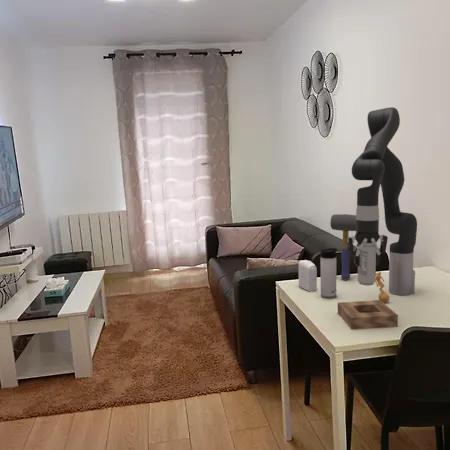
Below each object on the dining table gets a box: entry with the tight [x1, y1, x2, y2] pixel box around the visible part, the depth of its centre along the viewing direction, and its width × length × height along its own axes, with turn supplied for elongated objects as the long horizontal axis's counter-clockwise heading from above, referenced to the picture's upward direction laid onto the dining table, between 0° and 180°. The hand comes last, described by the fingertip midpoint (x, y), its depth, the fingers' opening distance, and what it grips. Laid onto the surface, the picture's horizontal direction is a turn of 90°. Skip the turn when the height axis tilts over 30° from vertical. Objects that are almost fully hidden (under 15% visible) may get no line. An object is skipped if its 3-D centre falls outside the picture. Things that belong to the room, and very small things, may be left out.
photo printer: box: [298, 259, 318, 293], centre depth 212 cm, size 10×4×12 cm, turn 21°
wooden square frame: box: [337, 299, 399, 330], centre depth 175 cm, size 16×16×4 cm
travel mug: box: [320, 247, 338, 300], centre depth 200 cm, size 6×7×20 cm
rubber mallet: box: [329, 213, 356, 281], centre depth 221 cm, size 12×8×30 cm, turn 60°
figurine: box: [374, 271, 390, 303], centre depth 192 cm, size 8×6×12 cm
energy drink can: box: [357, 242, 377, 286], centre depth 172 cm, size 6×6×15 cm
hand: (366, 265), depth 172 cm, fingers closed on energy drink can, 6 cm apart
